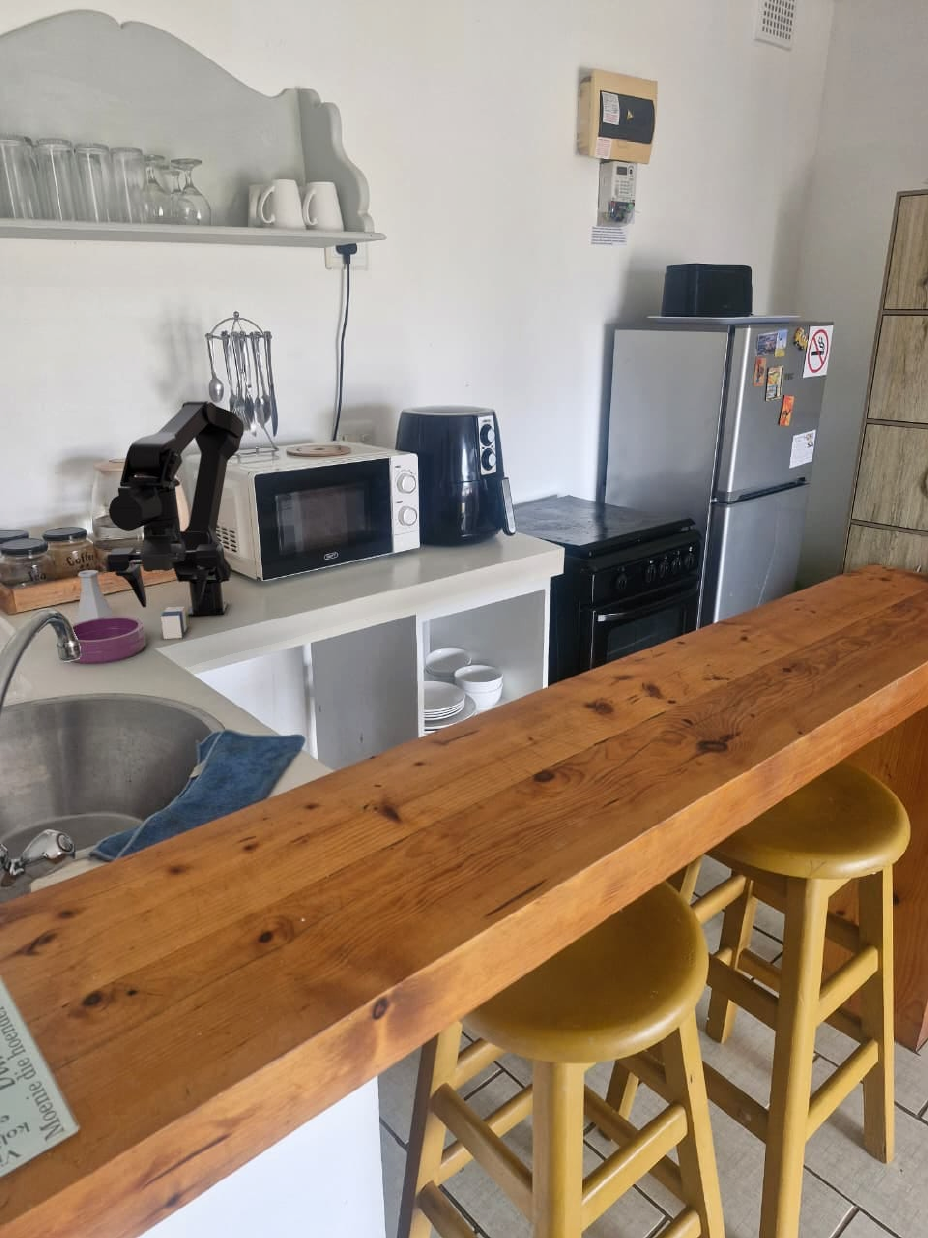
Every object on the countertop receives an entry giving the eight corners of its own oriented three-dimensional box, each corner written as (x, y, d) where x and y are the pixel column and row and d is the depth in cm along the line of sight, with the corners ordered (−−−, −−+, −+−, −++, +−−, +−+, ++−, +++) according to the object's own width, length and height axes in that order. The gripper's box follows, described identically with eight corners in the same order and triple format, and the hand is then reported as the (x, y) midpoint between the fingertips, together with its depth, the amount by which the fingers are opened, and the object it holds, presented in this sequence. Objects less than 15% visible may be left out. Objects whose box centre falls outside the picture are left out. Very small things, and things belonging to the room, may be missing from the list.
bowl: (76, 640, 150) (73, 618, 148) (153, 636, 151) (150, 614, 150) (54, 667, 138) (50, 644, 137) (138, 662, 139) (134, 639, 138)
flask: (102, 633, 153) (94, 578, 150) (66, 631, 154) (57, 577, 151) (125, 620, 160) (118, 567, 156) (90, 618, 161) (82, 566, 158)
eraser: (169, 628, 155) (166, 607, 153) (187, 627, 155) (184, 606, 154) (163, 639, 150) (160, 616, 148) (182, 638, 150) (179, 615, 149)
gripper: (90, 530, 137) (104, 623, 142) (211, 525, 139) (221, 617, 144) (107, 515, 147) (120, 603, 153) (220, 511, 150) (229, 597, 155)
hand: (172, 605), depth 151 cm, fingers open, 9 cm apart
